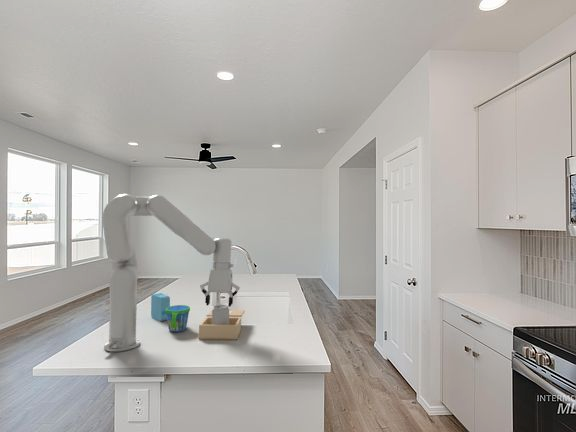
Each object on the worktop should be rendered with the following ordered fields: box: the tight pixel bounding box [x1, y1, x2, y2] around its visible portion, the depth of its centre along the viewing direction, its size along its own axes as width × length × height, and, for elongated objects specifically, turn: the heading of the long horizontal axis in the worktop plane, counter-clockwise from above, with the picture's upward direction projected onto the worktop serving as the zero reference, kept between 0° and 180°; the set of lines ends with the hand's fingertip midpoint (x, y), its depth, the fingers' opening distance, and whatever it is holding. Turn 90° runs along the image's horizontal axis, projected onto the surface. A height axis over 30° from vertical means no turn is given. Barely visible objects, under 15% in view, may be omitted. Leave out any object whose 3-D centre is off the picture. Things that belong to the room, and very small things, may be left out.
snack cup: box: [166, 304, 191, 333], centre depth 149 cm, size 16×10×10 cm
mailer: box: [198, 316, 242, 341], centre depth 143 cm, size 12×16×6 cm
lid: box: [206, 309, 246, 318], centre depth 156 cm, size 12×16×1 cm
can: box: [211, 304, 230, 325], centre depth 143 cm, size 8×8×12 cm
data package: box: [150, 292, 171, 322], centre depth 167 cm, size 12×4×12 cm, turn 46°
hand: (218, 305), depth 143 cm, fingers open, 9 cm apart
